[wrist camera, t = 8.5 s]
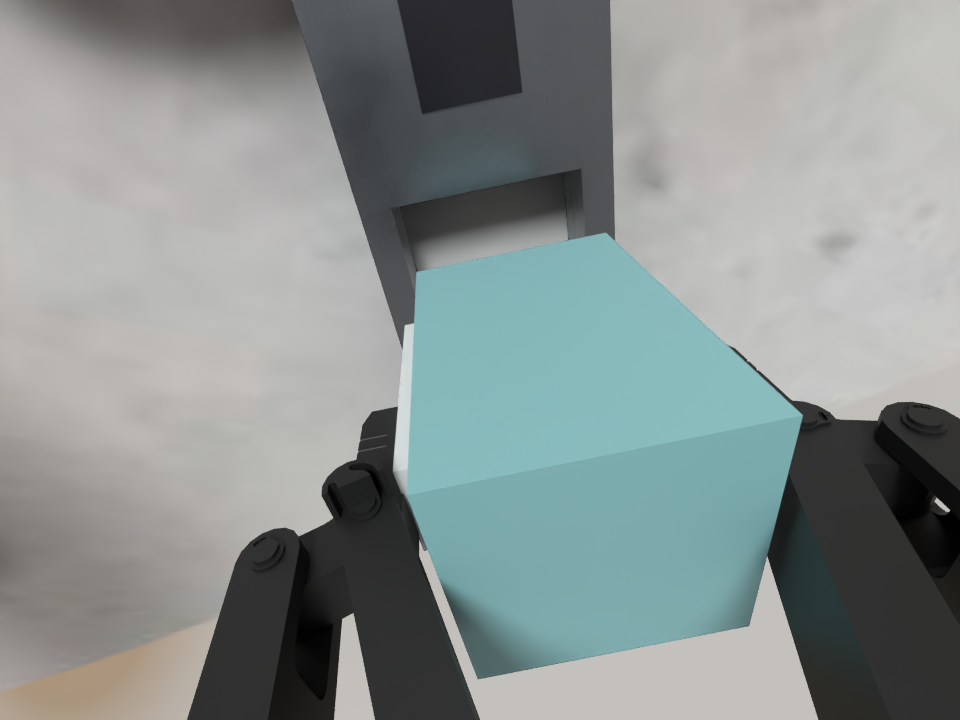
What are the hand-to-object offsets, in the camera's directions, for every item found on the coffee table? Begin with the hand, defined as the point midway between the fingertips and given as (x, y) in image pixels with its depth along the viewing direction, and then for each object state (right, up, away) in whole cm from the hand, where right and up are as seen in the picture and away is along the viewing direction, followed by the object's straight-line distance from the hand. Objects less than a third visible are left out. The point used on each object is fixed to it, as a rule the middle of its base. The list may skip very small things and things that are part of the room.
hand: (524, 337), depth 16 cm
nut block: (0, 0, 0) cm, 0 cm away
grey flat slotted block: (-1, +4, +7) cm, 8 cm away
